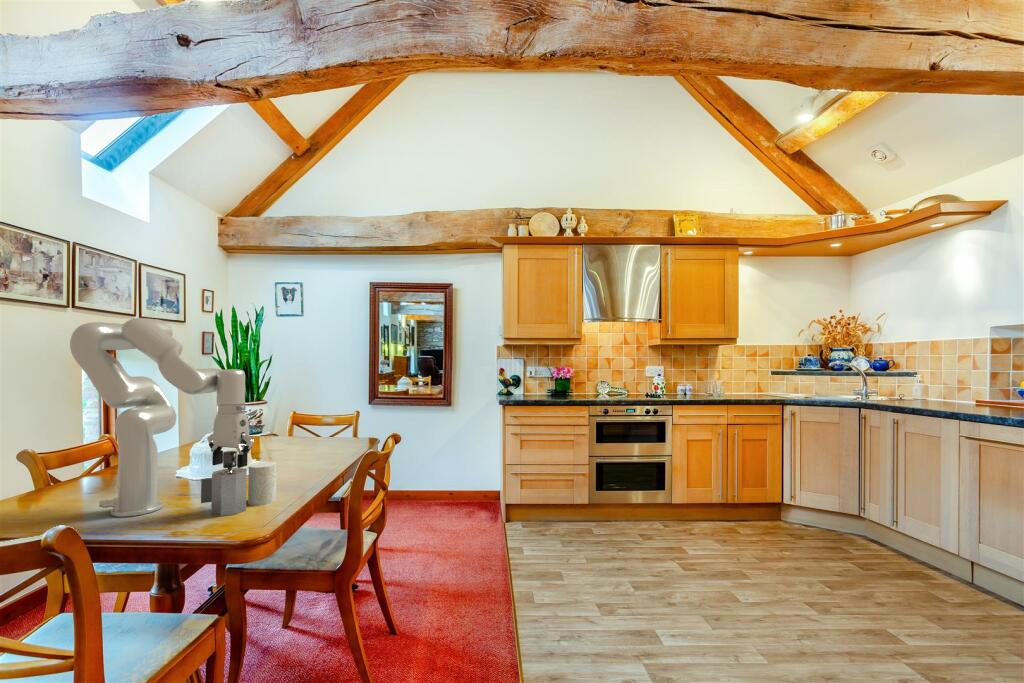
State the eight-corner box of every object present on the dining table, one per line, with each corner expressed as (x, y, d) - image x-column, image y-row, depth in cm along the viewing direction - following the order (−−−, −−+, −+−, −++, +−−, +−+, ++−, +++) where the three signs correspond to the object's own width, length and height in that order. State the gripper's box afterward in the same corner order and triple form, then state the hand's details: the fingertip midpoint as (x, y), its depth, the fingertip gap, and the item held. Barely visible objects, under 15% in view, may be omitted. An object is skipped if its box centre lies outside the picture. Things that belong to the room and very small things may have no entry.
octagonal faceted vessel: (199, 519, 141) (199, 477, 141) (202, 510, 149) (203, 470, 149) (245, 513, 146) (246, 473, 146) (246, 504, 154) (246, 466, 154)
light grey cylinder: (251, 507, 152) (251, 468, 152) (245, 500, 158) (246, 464, 158) (279, 502, 157) (279, 464, 157) (272, 496, 163) (273, 460, 163)
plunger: (221, 510, 146) (222, 453, 146) (222, 506, 149) (223, 451, 149) (235, 508, 147) (236, 452, 148) (236, 505, 150) (237, 450, 151)
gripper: (262, 409, 149) (262, 465, 149) (219, 407, 155) (218, 460, 154) (242, 412, 142) (241, 470, 142) (198, 409, 148) (197, 466, 147)
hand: (229, 465), depth 148 cm, fingers open, 9 cm apart
